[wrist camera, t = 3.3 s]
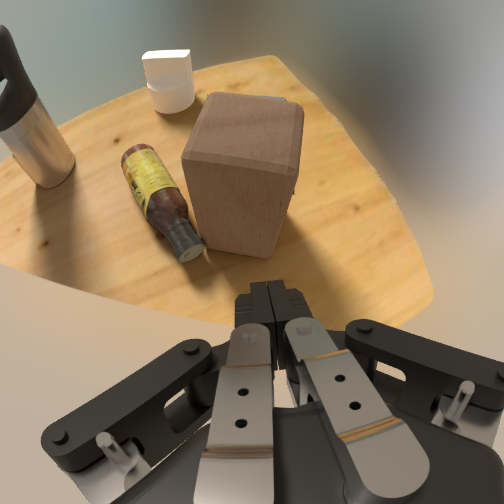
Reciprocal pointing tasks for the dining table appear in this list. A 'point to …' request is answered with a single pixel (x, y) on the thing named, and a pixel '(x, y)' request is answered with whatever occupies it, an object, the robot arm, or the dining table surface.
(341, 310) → the dining table surface
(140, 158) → the sauce bottle
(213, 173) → the block
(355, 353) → the robot arm
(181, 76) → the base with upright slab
